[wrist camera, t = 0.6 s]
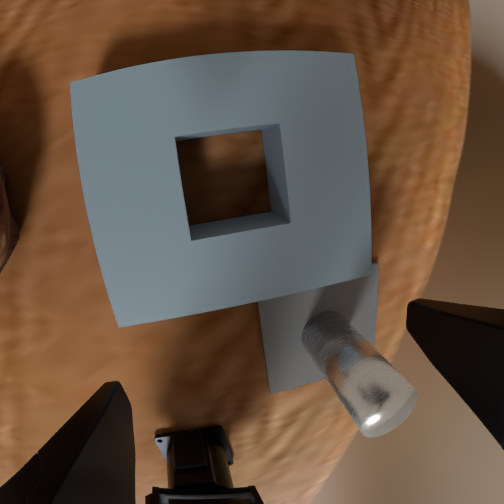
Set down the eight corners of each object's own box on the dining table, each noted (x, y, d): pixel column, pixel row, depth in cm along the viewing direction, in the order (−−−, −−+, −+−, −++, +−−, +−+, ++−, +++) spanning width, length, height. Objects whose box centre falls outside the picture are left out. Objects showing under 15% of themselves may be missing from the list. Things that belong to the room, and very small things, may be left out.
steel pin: (345, 346, 26) (411, 421, 16) (302, 358, 25) (357, 445, 16) (346, 305, 24) (423, 376, 15) (299, 317, 24) (364, 402, 14)
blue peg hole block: (343, 256, 23) (371, 274, 20) (127, 299, 21) (118, 327, 17) (325, 68, 19) (353, 53, 15) (89, 96, 16) (69, 82, 13)
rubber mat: (370, 360, 27) (372, 362, 27) (269, 391, 26) (270, 394, 25) (375, 261, 24) (378, 262, 24) (255, 288, 23) (256, 290, 22)
